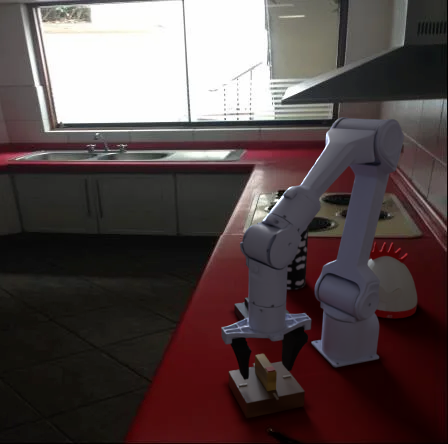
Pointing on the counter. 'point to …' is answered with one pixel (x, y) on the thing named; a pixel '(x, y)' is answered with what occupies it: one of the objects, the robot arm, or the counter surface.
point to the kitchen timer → (393, 283)
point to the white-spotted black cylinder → (298, 264)
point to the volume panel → (266, 392)
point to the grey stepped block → (244, 309)
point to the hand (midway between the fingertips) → (265, 371)
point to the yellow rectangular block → (265, 372)
